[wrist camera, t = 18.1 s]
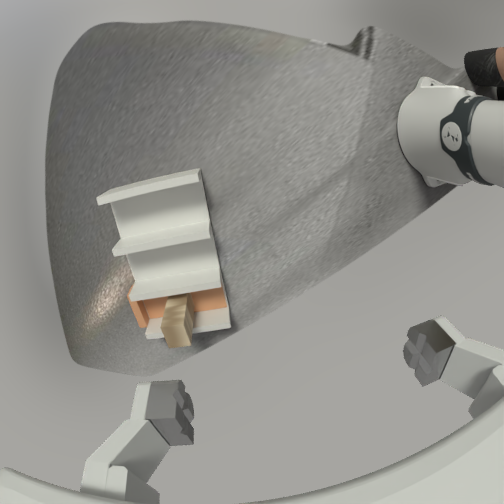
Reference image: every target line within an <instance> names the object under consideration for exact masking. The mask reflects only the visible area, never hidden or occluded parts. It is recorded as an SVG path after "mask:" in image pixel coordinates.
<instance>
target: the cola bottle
mask: <svg viewBox="0 0 504 504" xmlns="http://www.w3.org/2000/svg"><path fill="white" fill-rule="evenodd" d="M498 98H499V101H504V87H498Z"/></svg>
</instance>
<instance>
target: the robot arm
mask: <svg viewBox="0 0 504 504" xmlns="http://www.w3.org/2000/svg"><path fill="white" fill-rule="evenodd" d="M397 129H398V138H399V142H400V145H401V148H402V151H403V153H404V155H405V157H406V158H407V160H408V161H409V163H410V164H411V165H412V166H413V167H414V168H415V169H417V170H418V171H419V172H420V173H421V174H422V176H423V178H424V181H425V182H426V184H427V185H428V186H429V187H437V186H440V185H442V184H445V183H451V184H454V185H458V186H462V185H463V184H465V183H468V182H470V181H471V180H473V181H475V182H477V183H479V184H484V185H490V186H492V185H498V186H500V187H503V188H504V101H496V100H493V99H492V98H490V97H485V96H484V97H483V96H480V95H476V93H475V92H472V91H468V90H465V88H462V87H458V86H446V85H444V84H442V83H440V82H438V81H436V80H433V79H431V78H429V77H421V78H420V79H419V81H418V84H417V86H416V89H415V90H414V91H413V92H412V93H410V94H409V95H408V96H407V97H406V98H405V100H404V101H403V103H402V105H401V107H400V110H399V114H398V122H397ZM407 336H408V338H409V340H408V341H407V342H406V343H405V346H404V350H403V352H404V359H405V361H406V363H407V364H408V366H409V367H410V368H413V369H415V376H416V378H417V379H418V380H419V382H420V384H421V385H422V386H425V385H428V384H430V383H432V382H434V381H436V380H438V379H440V380H441V381H442V382H444V383H446V384H448V385H449V386H451V387H453V388H455V389H457V390H459V391H460V392H462V393H464V394H466V395H467V396H469V397H471V398H473V399H475V400H474V401H473V403H472V404H471V406H470V407H469V413H470V414H471V416H472V417H473V420H472V421H470V422H469V423H467V424H466V425H464V426H463V427H461V428H460V429H458V430H457V431H455V432H453V433H451V434H450V435H449V436H447V437H445V438H443V439H441V440H440V441H438V442H436V443H434V444H433V445H431V446H429V447H427V448H425V449H423V450H421V451H419V452H417V453H415V454H413V455H411V456H409V457H407V458H405V459H403V460H401V461H399V462H396V463H394V464H392V465H389V466H387V467H385V468H383V469H380V470H377V471H375V472H372V473H369V474H367V475H364V476H361V477H359V478H356V479H353V480H350V481H347V482H343V483H340V484H337V485H334V486H331V487H327V488H323V489H320V490H315V491H311V492H307V493H303V494H299V495H294V496H289V497H283V498H278V499H272V500H266V501H258V502H250V503H241V504H504V350H502V349H499V348H497V347H494V346H491V345H487V344H485V343H482V342H479V341H476V340H473V339H470V338H468V339H466V338H465V337H464V336H463V335H462V334H461V333H460V332H459V331H458V330H457V329H456V328H455V327H454V326H453V325H452V324H451V323H450V322H449V321H448V320H447V319H446V318H445V317H444V316H438V317H436V318H434V319H431V320H428V321H426V322H423V323H421V324H418V325H416V326H413V327H411V328H410V329H409V330H408V334H407ZM193 419H194V409H193V403H192V400H191V397H190V395H189V394H188V393H186V392H185V385H184V384H183V382H182V380H172V381H155V382H154V381H153V382H139V384H138V385H137V387H136V392H135V397H134V401H133V406H132V411H131V416H130V420H125V421H124V422H123V423H122V424H121V426H119V428H118V429H117V430H116V431H115V432H114V433H113V434H112V435H111V436H110V437H109V438H108V439H107V440H106V441H105V442H104V443H103V444H102V445H101V446H100V447H99V448H98V449H97V450H96V451H95V452H94V453H93V454H92V455H91V456H90V457H89V458H88V459H87V460H86V464H85V468H84V473H83V478H82V483H81V489H80V492H78V491H73V490H70V489H67V488H63V487H59V486H57V485H53V484H50V483H47V482H44V481H41V480H38V479H36V478H33V477H31V476H28V475H25V474H23V473H21V472H18V471H16V470H13V469H11V468H6V467H5V468H2V469H0V504H159V493H158V492H157V491H156V490H155V489H153V488H152V487H151V486H149V485H148V484H146V483H147V481H148V480H149V478H150V477H151V475H152V474H153V472H154V471H155V469H156V468H157V466H158V465H159V464H160V462H161V461H162V459H163V458H164V456H165V455H166V453H167V452H168V450H169V449H170V446H177V445H191V444H194V442H193V441H194V428H193V427H192V425H191V424H190V423H191V421H192V420H193Z"/></svg>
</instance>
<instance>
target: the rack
mask: <svg viewBox="0 0 504 504" xmlns="http://www.w3.org/2000/svg"><path fill="white" fill-rule="evenodd" d="M97 202H98V205H102V204H106V203H109V202H111V206H112V210H113V213H114V217H115V220H116V224H117V227H118V231H119V234H120V237H121V239H120V240H119V241H118V243H117V244H116V245H115V246H114V248H113V249H112V252H113V255H114V257H115V256H120V255H125V254H126V256H127V259H128V262H129V265H130V268H131V271H132V274H133V276H134V279H135V283H134V285H132V286H131V288H130V290H129V292H128V295H127V298H128V300H129V303H130V305H131V307H132V310H133V312H134V315H135V317H136V319H137V321H138V324H139V326H140V328H144V327H147V330H146V333H145V335H146V337H147V339H155V338H163V337H164V335H163V333H162V330H161V328H160V327H161V323H162V319H163V315H164V310H165V306H166V302H167V298H168V296H171V295H177V294H184V293H190V292H191V295H192V299H193V302H194V305H195V308H194V318H193V329H192V334H194V333H200V332H207V331H214V330H220V329H226V328H231V321H230V310H229V304H228V300H227V296H226V291H225V287H224V282H223V278H222V273H221V269H220V264H219V259H218V255H217V250H216V245H215V241H214V236H213V231H212V226H211V221H210V216H209V211H208V206H207V201H206V196H205V191H204V186H203V180H202V175H201V170H200V168H198V169H193V170H188V171H183V172H179V173H174V174H170V175H165V176H161V177H157V178H152V179H148V180H144V181H140V182H136V183H132V184H129V185H125V186H121V187H117V188H114V189H110V190H108V191H107V192H105V193H104V194H102V195H100V196H99V197H97Z"/></svg>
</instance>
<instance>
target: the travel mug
mask: <svg viewBox="0 0 504 504" xmlns="http://www.w3.org/2000/svg"><path fill="white" fill-rule="evenodd" d="M464 64H465V68H466V71H467V74H468V76H469V77H470V79H471V80H472V81H473V82H474V83H475V84H476V85H480V86H494V87H504V47H500V48H491V49H484V50H478V51H472V52H468V53H466V55H465V58H464Z"/></svg>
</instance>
